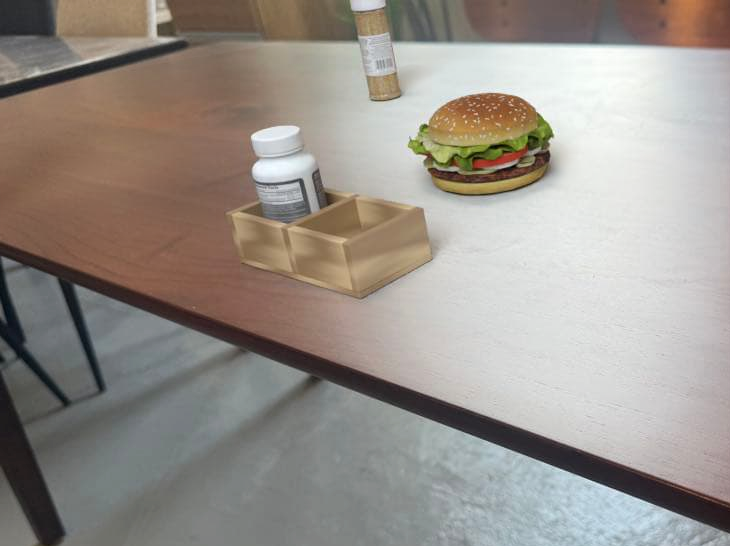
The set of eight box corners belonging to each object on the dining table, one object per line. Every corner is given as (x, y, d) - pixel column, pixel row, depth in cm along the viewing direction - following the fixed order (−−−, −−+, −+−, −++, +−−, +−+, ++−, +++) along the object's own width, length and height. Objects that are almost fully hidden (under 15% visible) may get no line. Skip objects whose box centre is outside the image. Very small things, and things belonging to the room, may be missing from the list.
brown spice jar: (400, 91, 123) (382, -13, 115) (402, 98, 119) (384, -8, 112) (368, 95, 122) (347, -8, 115) (369, 103, 118) (349, -4, 111)
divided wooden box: (240, 262, 75) (225, 213, 72) (312, 229, 80) (300, 182, 77) (360, 299, 66) (348, 244, 64) (432, 259, 71) (423, 207, 69)
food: (402, 174, 91) (388, 96, 87) (525, 148, 95) (517, 72, 90) (438, 213, 80) (424, 127, 76) (575, 182, 84) (570, 98, 80)
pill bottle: (304, 229, 78) (276, 120, 73) (348, 237, 75) (323, 124, 70) (260, 253, 74) (227, 139, 69) (305, 261, 72) (275, 144, 66)
